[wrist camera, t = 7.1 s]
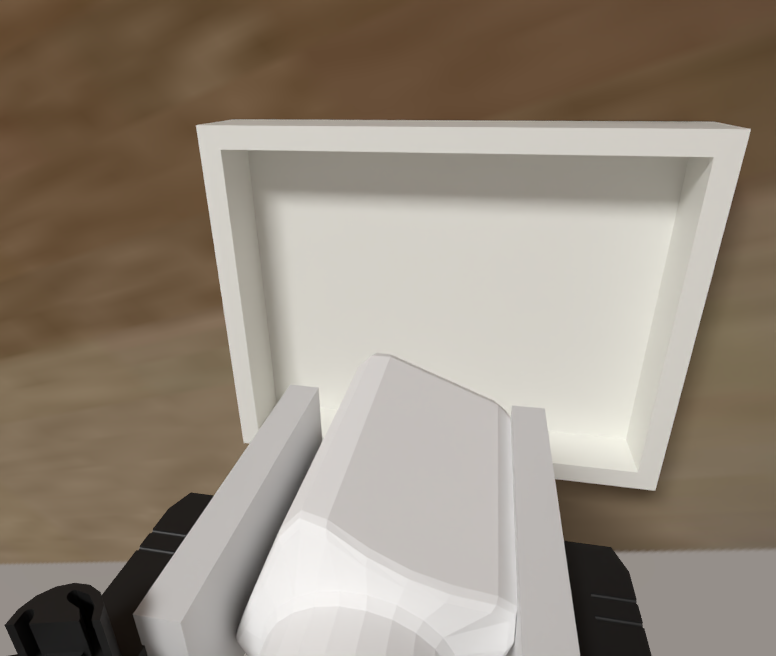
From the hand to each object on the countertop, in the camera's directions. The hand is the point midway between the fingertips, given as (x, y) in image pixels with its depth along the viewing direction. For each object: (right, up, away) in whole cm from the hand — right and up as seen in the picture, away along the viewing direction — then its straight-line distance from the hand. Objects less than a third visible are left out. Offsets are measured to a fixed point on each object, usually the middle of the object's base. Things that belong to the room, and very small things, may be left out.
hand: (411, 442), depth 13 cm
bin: (+2, +4, +9) cm, 10 cm away
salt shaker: (0, 0, +1) cm, 1 cm away
